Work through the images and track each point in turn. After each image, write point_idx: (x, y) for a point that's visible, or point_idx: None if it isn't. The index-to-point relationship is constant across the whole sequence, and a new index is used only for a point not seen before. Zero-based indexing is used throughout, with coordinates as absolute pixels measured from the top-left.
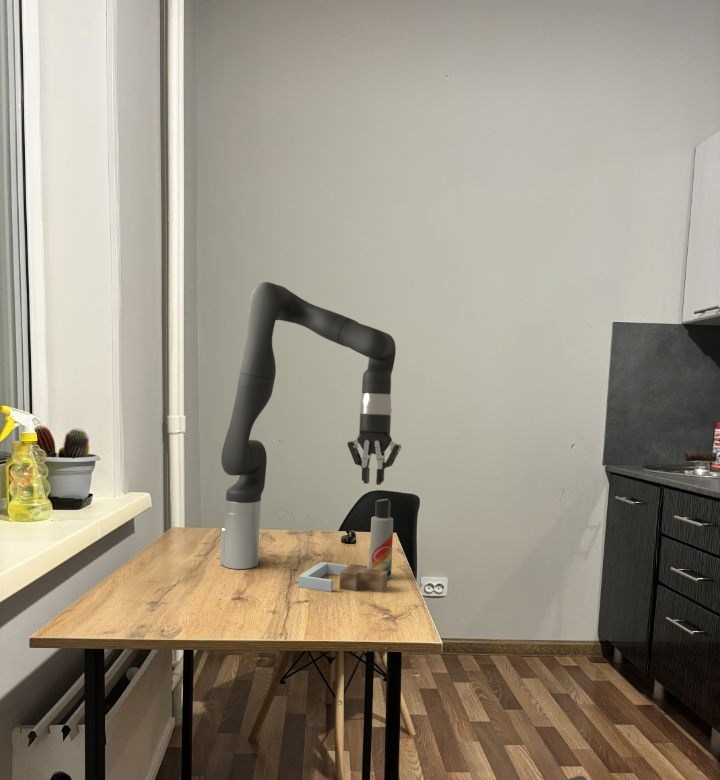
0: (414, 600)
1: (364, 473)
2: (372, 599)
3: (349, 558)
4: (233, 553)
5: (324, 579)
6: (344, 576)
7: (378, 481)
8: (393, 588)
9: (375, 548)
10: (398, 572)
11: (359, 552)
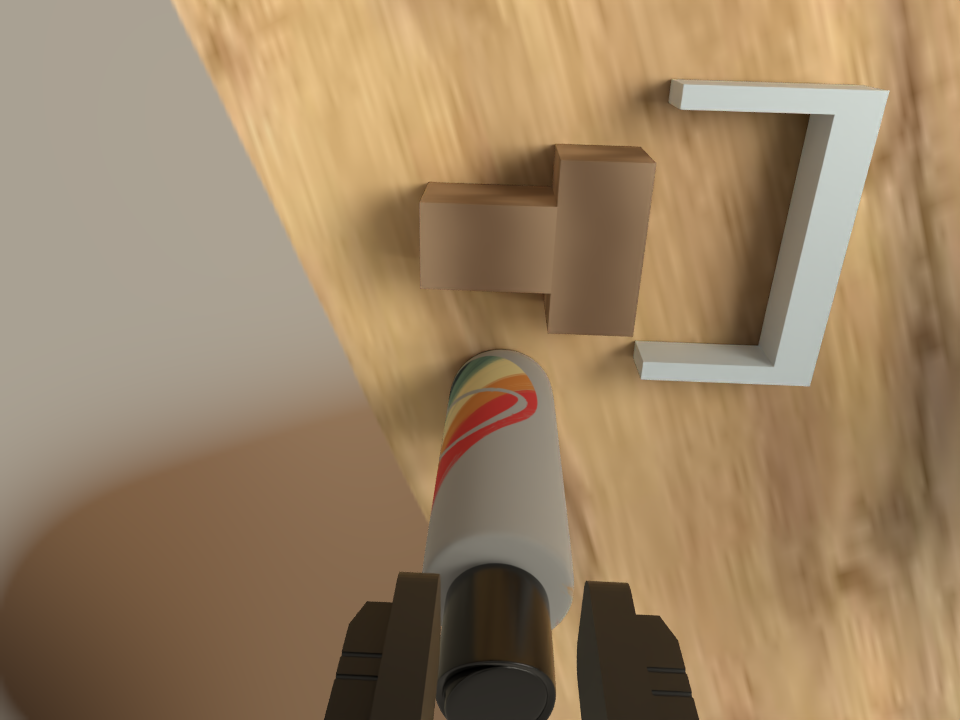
0: (253, 133)
1: (645, 697)
2: (441, 57)
3: (698, 577)
4: None
5: (728, 98)
6: (626, 159)
7: (402, 597)
8: (397, 261)
9: (517, 425)
10: None
11: None
